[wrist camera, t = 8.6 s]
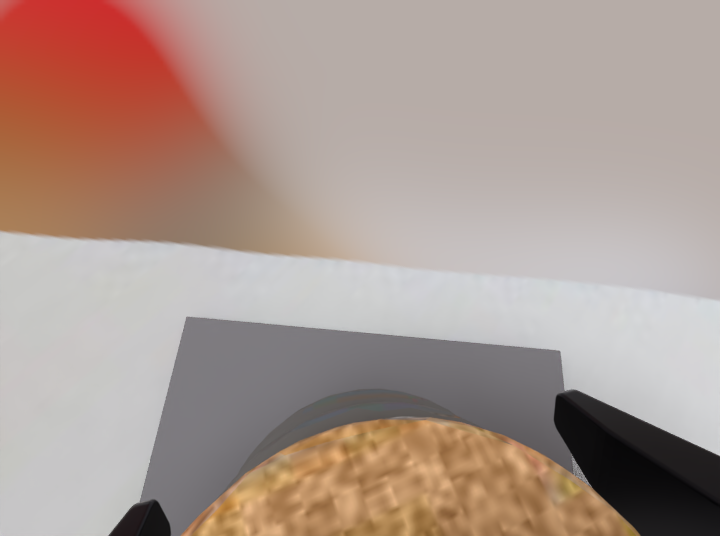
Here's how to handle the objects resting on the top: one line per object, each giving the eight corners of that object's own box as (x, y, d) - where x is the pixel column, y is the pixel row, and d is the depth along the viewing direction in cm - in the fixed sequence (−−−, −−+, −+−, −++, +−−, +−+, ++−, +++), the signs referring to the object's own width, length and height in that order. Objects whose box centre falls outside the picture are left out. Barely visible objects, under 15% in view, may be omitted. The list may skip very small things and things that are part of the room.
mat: (553, 352, 19) (560, 351, 19) (585, 668, 15) (594, 677, 14) (191, 319, 19) (186, 316, 19) (114, 628, 15) (105, 636, 14)
